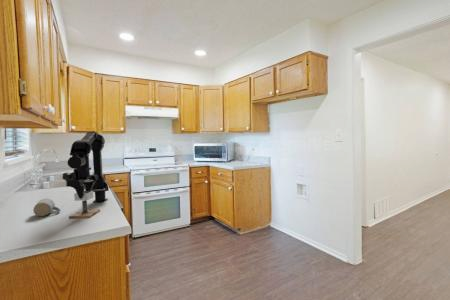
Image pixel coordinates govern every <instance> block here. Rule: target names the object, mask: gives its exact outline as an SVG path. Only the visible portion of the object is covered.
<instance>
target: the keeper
mask: <svg viewBox="0 0 450 300" xmlns="http://www.w3.org/2000/svg"><path fill="white" fill-rule="evenodd" d="M81 202H82V209H81V210H80V209H79V210H78V211H75V213H72V214H70V215H69V216H68V219H87V218H92V217H93V216H95V215H97V214H98V213H100V212H101V209H99V208H98V209H97V208H96V209H88V200H81Z"/></svg>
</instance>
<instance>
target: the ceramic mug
mask: <svg viewBox="0 0 450 300" xmlns="http://www.w3.org/2000/svg"><path fill="white" fill-rule="evenodd" d="M61 211H62V210H61V208H59V207H56V203H55V202H54V200H52V199H51V198H49V197H48V198H46V197H45V198H41V199H40V200H39V201H37V203H36V204H35V205H34V207H33V214H35V216H37V217H46V216H47V215H49V214H54V215H56V214H57V215H58V214H59V213H60V212H61Z"/></svg>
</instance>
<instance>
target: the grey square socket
mask: <svg viewBox="0 0 450 300" xmlns="http://www.w3.org/2000/svg"><path fill="white" fill-rule="evenodd" d="M73 196H74V202H75V201H76V202H78V201H79V202H80V201H81V202H82V201H85V200H86V201H88V200H91V199H93V198H94V192H93V191H85V190H84V194H83V197H82V199H79V196H78V194H77V192H76V193H74V195H73Z"/></svg>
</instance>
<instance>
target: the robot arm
mask: <svg viewBox="0 0 450 300" xmlns="http://www.w3.org/2000/svg"><path fill="white" fill-rule="evenodd" d="M105 143H106V141H105V138H104V136H103V135H101V134H99V132H98V131H87V132H86V134H85V135H84V136H83V137H82V138H81V139H77V140H74V142H72V144H71V147H70V152H69V156H70V157H69V158H68V160H67V165H68V167H69V168H71V169H73V172H70V173H69V172H64V173H62V180H64V181H65V182H66V183H65V187H69V188H72V189H74V190H75V191H76V193H77V194H78V196H79V199H82V197H83V194H84V191H93V193H94V198H95V199H94V200H92V203H103V202H106V201H108V200H109V199H108V198H106V192H108V191H109V184H108V183H107V178H106V176H105V175H104V174H103V159H102V158H103V157H102V152H103V149H104V146H105ZM91 152H92V162H93V163H92V164H93V174H91V173H90V172H91V171H90V170H92V167H90V154H91Z"/></svg>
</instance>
